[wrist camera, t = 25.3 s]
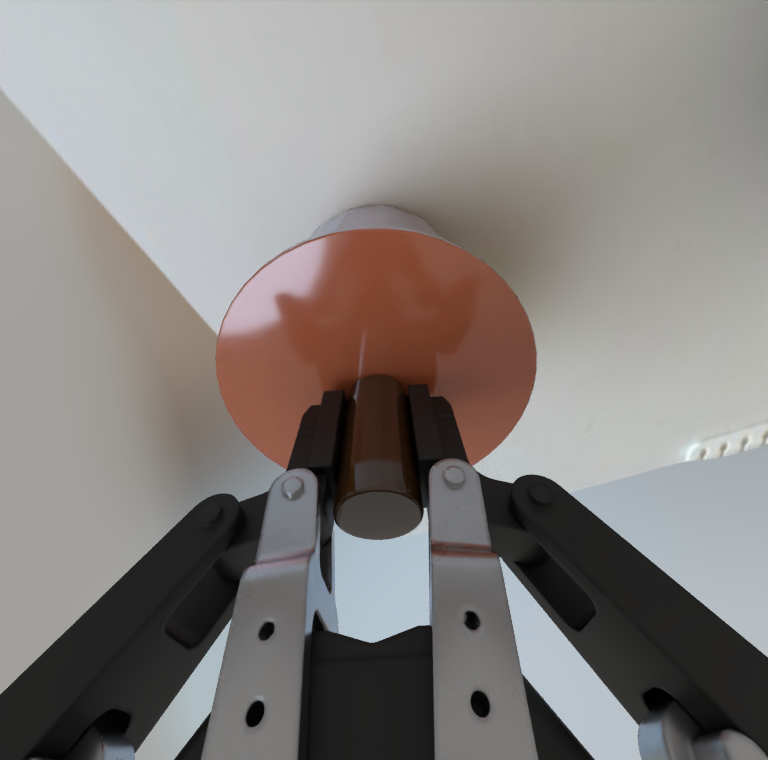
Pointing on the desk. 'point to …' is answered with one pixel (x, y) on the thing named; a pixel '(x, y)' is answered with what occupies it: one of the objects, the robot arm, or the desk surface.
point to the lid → (375, 358)
